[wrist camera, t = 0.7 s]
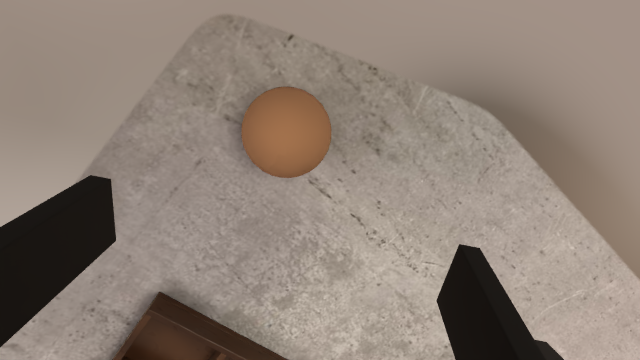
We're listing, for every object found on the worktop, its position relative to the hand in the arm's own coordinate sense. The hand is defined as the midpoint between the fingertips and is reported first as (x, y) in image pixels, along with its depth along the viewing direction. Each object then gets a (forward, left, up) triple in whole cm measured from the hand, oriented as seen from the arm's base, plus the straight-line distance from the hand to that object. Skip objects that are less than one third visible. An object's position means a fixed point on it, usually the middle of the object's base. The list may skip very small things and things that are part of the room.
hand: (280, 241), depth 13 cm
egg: (-2, -1, -17) cm, 17 cm away
